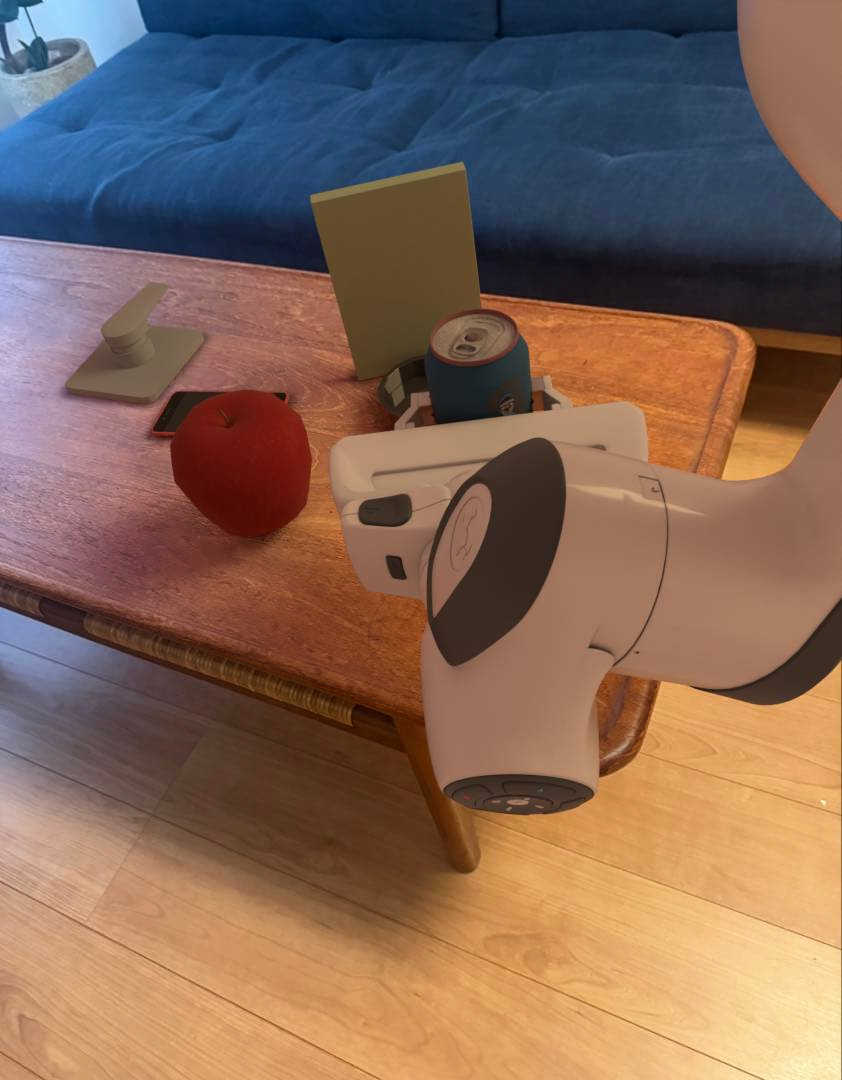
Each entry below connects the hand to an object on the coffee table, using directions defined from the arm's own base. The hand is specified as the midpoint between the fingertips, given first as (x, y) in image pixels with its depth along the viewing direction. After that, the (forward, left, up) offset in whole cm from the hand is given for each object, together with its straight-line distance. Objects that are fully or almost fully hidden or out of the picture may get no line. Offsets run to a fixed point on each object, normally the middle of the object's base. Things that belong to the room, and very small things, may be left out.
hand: (480, 391), depth 57 cm
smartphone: (+25, -25, -17) cm, 39 cm away
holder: (+3, -20, -17) cm, 26 cm away
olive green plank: (+3, -27, -17) cm, 32 cm away
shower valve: (+35, -39, -17) cm, 55 cm away
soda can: (0, +1, -7) cm, 7 cm away
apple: (+20, -9, -17) cm, 28 cm away
